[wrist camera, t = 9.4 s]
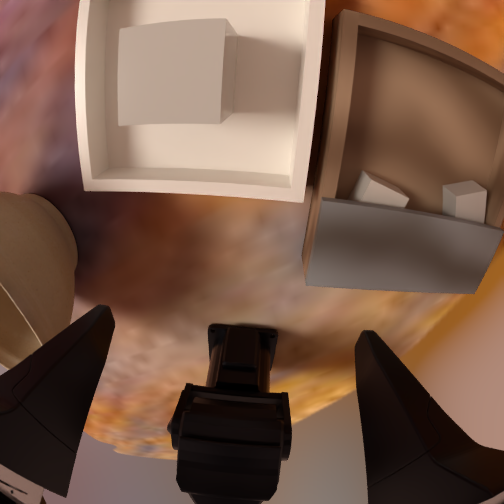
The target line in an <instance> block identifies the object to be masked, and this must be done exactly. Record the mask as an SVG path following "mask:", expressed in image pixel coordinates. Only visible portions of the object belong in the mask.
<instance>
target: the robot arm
mask: <svg viewBox="0 0 504 504" xmlns="http://www.w3.org/2000/svg"><path fill="white" fill-rule="evenodd" d="M114 328H115V320H114V318H113V315H112V312H111V309H110V307H109V306H107V305H101V304H100V305H97V306H96V307H94V308H93V309H92V310H90V311H89V312H87V313H86V314H85V315H83V316H82V317H80V318H79V319H78V320H76V321H75V322H73V323H72V324H71V325H69V326H68V327H67V328H65V329H64V330H62V331H61V332H60V333H58V334H57V335H56V336H54V337H53V338H52V339H50V340H49V341H48V342H46V343H45V344H44V345H42V346H41V347H40V348H38V349H37V350H36V351H34V352H33V353H32V354H30V355H29V356H28V357H26V358H25V359H24V360H22V361H21V362H20V363H18V364H17V365H16V366H14V367H13V368H11V369H10V370H8V371H7V372H5V373H4V374H2V375H0V504H46V502H45V500H44V498H43V491H44V488H45V489H47V490H49V491H51V492H53V493H56V494H58V495H60V496H63V497H65V498H66V496H67V493H68V488H69V484H70V479H71V475H72V470H73V467H74V463H75V459H76V453H77V450H78V447H79V443H80V439H81V436H82V432H83V429H84V426H85V422H86V419H87V416H88V412H89V409H90V406H91V403H92V400H93V397H94V394H95V391H96V388H97V385H98V382H99V379H100V376H101V374H102V371H103V368H104V365H105V362H106V359H107V355H108V351H109V347H110V343H111V339H112V336H113V332H114ZM212 329H214V330H212ZM277 339H278V332H277V331H276V330H268V329H255V328H244V327H233V326H223V325H214V324H212V325H209V327H208V343H209V358H210V365H209V370H208V376H207V381H206V386H198V385H193V384H191V383H186V386H185V389H184V390H182V392H181V396H180V399H179V401H178V404H177V407H176V410H175V412H174V415H173V417H172V418H171V420H170V422H169V424H168V427H167V430H168V432H169V433H170V434H171V439H172V447H173V449H174V450H178V457H177V475H176V481H177V483H178V485H179V487H180V490H181V491H182V492H186V493H188V494H189V495H190V497H191V498H192V500H193V502H194V503H195V504H261V503H262V502H263V501H269V500H270V499H271V497H272V496H273V495H274V493H275V492H276V490H277V484H278V482H279V475H280V466H281V461H286V460H288V458H289V455H290V449H291V440H292V427H291V416H290V407H289V398H288V392H281V393H269V390H270V371H271V368H272V363H273V359H274V354H275V349H276V344H277ZM355 368H356V388H357V396H358V403H359V409H360V418H361V426H362V433H363V443H364V452H365V462H366V473H367V486H368V488H367V489H368V504H504V451H502V450H497V449H493V448H489V447H484V446H482V445H479V444H478V443H476V442H475V441H474V440H472V439H471V438H470V437H469V436H468V435H467V434H466V433H465V432H464V431H463V430H462V429H461V428H460V427H459V426H458V425H457V424H456V423H455V422H454V421H453V420H452V419H451V418H450V417H449V416H448V415H447V414H446V413H445V412H444V410H442V408H441V407H440V406H439V405H438V404H437V402H436V401H435V400H434V399H433V398H432V397H430V394H429V393H428V392H427V391H426V390H425V388H424V387H423V386H422V385H421V384H420V382H419V381H418V380H417V379H416V378H415V377H414V375H413V374H412V373H411V372H410V371H409V370H408V369H407V367H406V366H405V365H404V364H403V363H402V362H401V360H400V359H399V358H398V357H397V356H396V355H395V354H394V353H393V351H392V350H391V349H390V348H389V347H388V346H387V345H386V343H385V342H384V341H383V340H382V339H381V338H380V337H379V336H378V335H377V333H376V332H375V331H373V330H363V331H362V332H361V334H360V336H359V339H358V341H357V343H356V345H355Z"/></svg>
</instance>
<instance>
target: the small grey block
mask: <svg viewBox="0 0 504 504" xmlns="http://www.w3.org/2000/svg"><path fill="white" fill-rule="evenodd" d="M486 197H487V190H486V189H484V188H483V187H481V186H480V185H479V184H477V183H476V182H474V181H473V180H471V181H465V182H459V183H454V184H448V185H443V210H442V215H443V216H448V217H453V218H458V219H463V220H468V221H473V222H477V223H482V224H484V219H485V209H486Z"/></svg>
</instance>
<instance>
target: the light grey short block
mask: <svg viewBox="0 0 504 504" xmlns="http://www.w3.org/2000/svg"><path fill="white" fill-rule="evenodd" d="M347 200H351V201H358V202H365V203H372V204H379V205H385V206H392V207H398V208H405V206H406V204H407V202H408V200H409V198H408V197H407V196H406V195H405V194H404V193H403V192H402V191H401V190H400V189H399V188H398V187H396V186H395V185H393V184H391V183H389V182H387V181H385V180H383V179H381V178H379V177H376V176H374V175H372V174H370V173H368V172H366V171H364V170H362V171H361V173H360V175H359V177H358V179H357V181H356V183H355V185H354V187H353V189H352V191H351V193H350V195H349V197H348V199H347Z"/></svg>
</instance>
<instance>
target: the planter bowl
mask: <svg viewBox="0 0 504 504" xmlns="http://www.w3.org/2000/svg"><path fill="white" fill-rule="evenodd" d="M77 260H78V253H77V246H76V242H75V239H74V236H73V233H72V231H71V229H70V227H69V225H68V223H67V222H66V220H65V219H64V217H63V216H62V214H61V213H60V212H59V211H58V210H57V209H56V207H55V206H54V205H52V204H51V203H50V202H49V201H47V200H46V199H44V198H43V197H40V196H38V195H35V194H30V193H29V194H22V195H17V194H14V193H9V192H0V364H1V365H2V366H3V367H5V368H6V369H8V370H10V369H11V368H13V367H14V366H16V365H17V364H18V363H20V362H21V361H22V360H24V359H25V358H26V357H28V356H29V355H30V354H32V353H33V352H34V351H36V350H37V349H38V348H40V347H41V346H42V345H44V344H45V343H46V342H48V341H49V340H50V339H52V338H53V337H54V336H56V335H57V334H58V333H60V332H61V331H62V330H64V329H65V328H67V327H68V326H69V325H70V321H71V316H72V311H73V304H74V292H75V277H74V271H75V269H76V266H77Z"/></svg>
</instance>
